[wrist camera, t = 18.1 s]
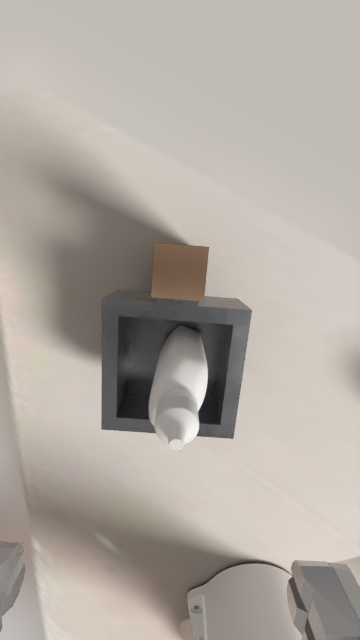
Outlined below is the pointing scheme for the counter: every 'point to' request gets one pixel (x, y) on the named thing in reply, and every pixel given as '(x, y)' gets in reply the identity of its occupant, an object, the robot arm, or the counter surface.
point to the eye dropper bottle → (179, 388)
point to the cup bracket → (154, 328)
